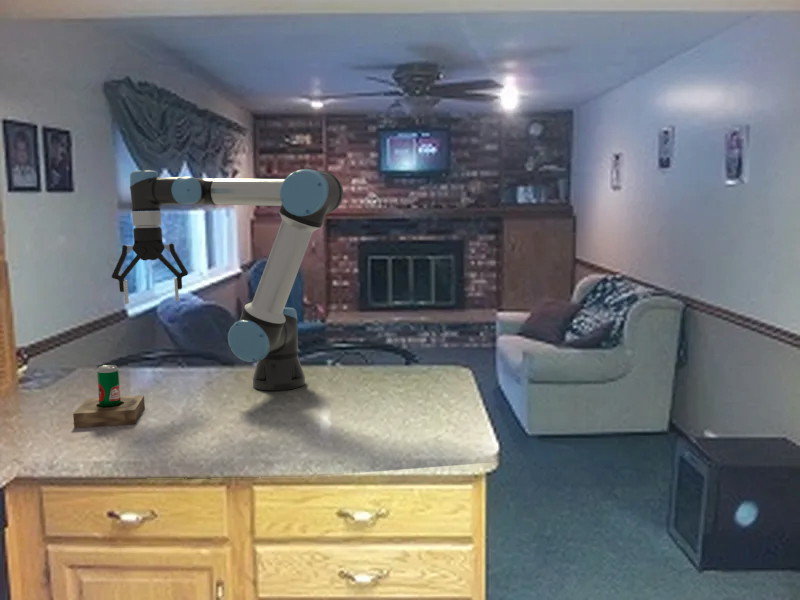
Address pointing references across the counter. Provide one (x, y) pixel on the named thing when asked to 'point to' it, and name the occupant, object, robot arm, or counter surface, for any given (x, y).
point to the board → (109, 412)
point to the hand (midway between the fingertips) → (152, 302)
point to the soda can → (108, 386)
